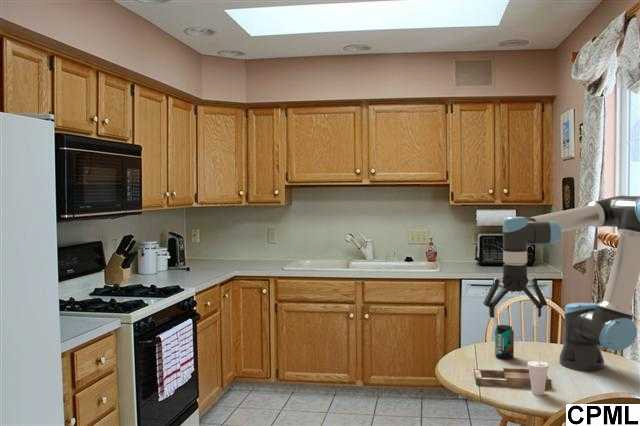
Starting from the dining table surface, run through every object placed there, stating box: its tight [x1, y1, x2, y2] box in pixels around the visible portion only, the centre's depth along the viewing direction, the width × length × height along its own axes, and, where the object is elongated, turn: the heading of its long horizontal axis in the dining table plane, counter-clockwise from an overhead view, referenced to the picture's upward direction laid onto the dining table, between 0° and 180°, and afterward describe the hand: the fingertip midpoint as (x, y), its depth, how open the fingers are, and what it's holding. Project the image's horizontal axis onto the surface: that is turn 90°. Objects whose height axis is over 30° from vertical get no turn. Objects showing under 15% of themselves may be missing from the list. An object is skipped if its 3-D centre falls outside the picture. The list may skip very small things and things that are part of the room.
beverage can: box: [494, 324, 515, 360], centre depth 215 cm, size 7×7×12 cm
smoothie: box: [527, 350, 550, 396], centre depth 178 cm, size 6×6×14 cm
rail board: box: [473, 367, 552, 390], centre depth 189 cm, size 24×10×3 cm, turn 78°
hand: (515, 326), depth 183 cm, fingers open, 13 cm apart
